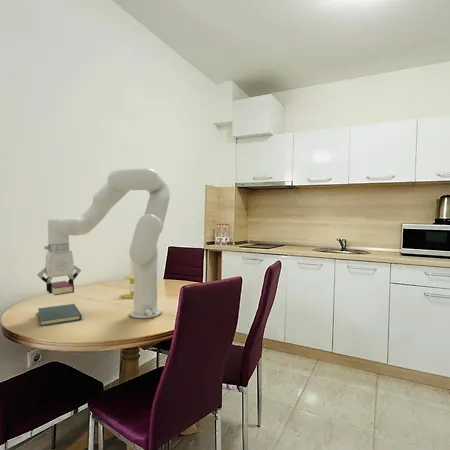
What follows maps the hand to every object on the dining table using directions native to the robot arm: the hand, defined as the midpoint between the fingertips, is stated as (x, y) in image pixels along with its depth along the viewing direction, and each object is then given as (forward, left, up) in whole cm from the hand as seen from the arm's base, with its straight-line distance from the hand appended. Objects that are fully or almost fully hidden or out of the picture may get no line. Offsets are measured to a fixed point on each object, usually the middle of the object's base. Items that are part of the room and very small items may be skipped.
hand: (60, 290), depth 132 cm
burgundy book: (0, 0, 0) cm, 0 cm away
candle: (+19, -35, -11) cm, 42 cm away
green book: (0, +1, -10) cm, 11 cm away
